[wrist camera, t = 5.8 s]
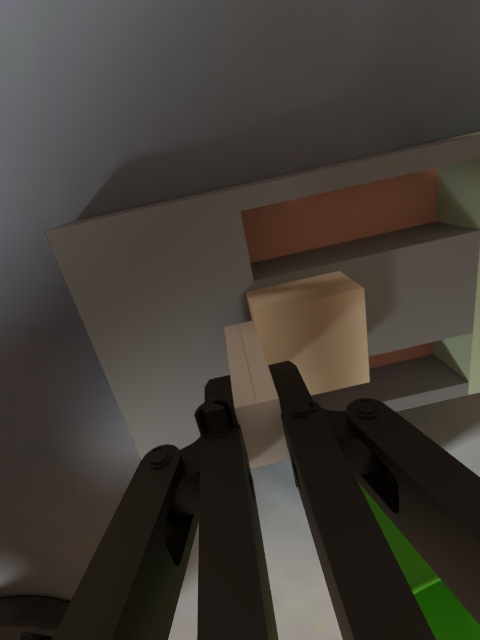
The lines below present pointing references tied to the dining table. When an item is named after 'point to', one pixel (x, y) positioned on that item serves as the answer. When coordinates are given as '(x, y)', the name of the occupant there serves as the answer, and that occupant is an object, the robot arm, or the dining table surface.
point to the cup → (427, 585)
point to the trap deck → (285, 279)
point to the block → (315, 329)
